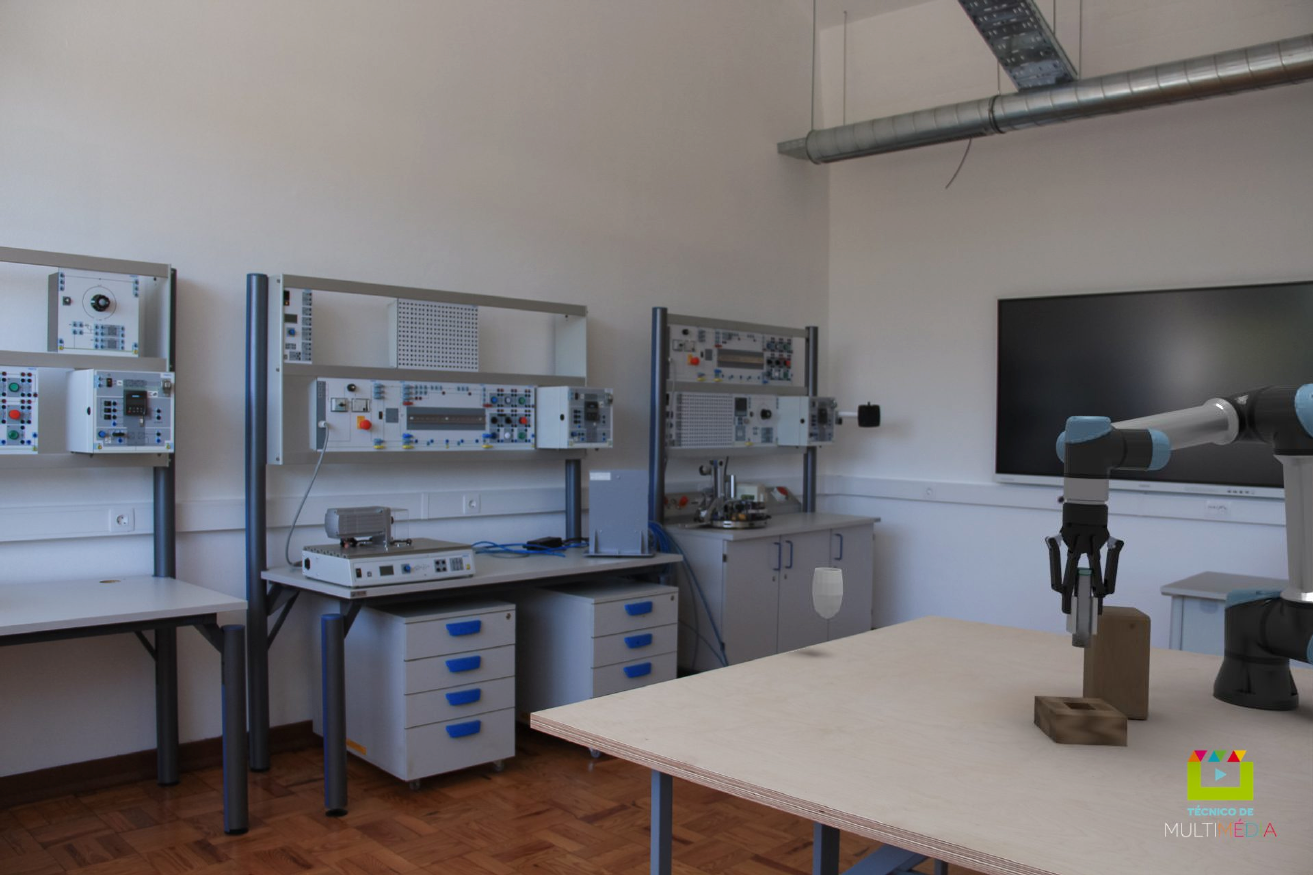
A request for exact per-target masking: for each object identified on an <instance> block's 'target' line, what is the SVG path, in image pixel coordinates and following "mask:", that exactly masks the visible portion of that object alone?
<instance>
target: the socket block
mask: <svg viewBox="0 0 1313 875" xmlns="http://www.w3.org/2000/svg"><path fill="white" fill-rule="evenodd" d="M1033 706H1034V707H1033V708H1034V713H1033V723H1034V724H1035V725H1036V726H1037V727H1038V728H1039V729H1040V730H1041V731H1043V732H1044V733H1045V735H1047V736H1048V737H1049V738H1050V739H1051V740H1052V741H1054V742H1055V743H1056V744H1072V745H1073V744H1074V745H1075V744H1076V745H1093V746H1094V745H1097V746H1100V745H1101V746H1119V747H1121V746H1122V747H1126V746H1127V747H1128V721H1129V718H1128V717H1127V716H1125V715H1124V714H1122V713H1121V712H1120V711H1118V710H1117V709H1115V708H1114V707H1112V706H1111V705H1109V704H1108V703H1107V702H1105V701H1104V700H1102V699H1101V698H1083V697H1075V696H1074V697H1073V696H1049V695H1046V696H1045V695H1034V705H1033Z"/></svg>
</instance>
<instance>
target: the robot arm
mask: <svg viewBox="0 0 1313 875" xmlns="http://www.w3.org/2000/svg"><path fill="white" fill-rule="evenodd" d="M1064 429H1065V430H1064V431H1063V432H1061V433H1060V434H1059V436H1058V438H1057V440H1056V443H1055V451H1056V454H1057V457H1058V459H1059V460H1060V461H1061V462H1062V463H1063V488H1062V489H1063V493H1062V496H1063V497H1062V498H1063V499H1064V500H1066V501H1064V502H1063V503H1062V519H1061V520H1062V522H1061V523H1062V524H1061V528H1060V529H1059V532H1058V533H1056V534H1054V535H1052V536H1046V537H1045V538H1044V542H1045V544H1046V546H1047V549H1048V557H1049V559H1048V560H1049V574H1050V586H1051V587H1050V588H1051V589H1052V590H1053V591H1054V592H1056V593H1059V594H1060V595H1061V612H1062V613H1063V614H1064V615H1066V618H1065V620H1066V621H1065V623H1066V624H1065V625H1066V626H1065V631H1066V632H1068V633H1069V634H1071V635H1072V634H1076V610H1077V597H1075V596H1073V593H1074V584H1075V579H1076V573H1077V568H1078V567H1079V561H1080V560H1081V557H1082V555H1084V554H1086V557H1087V560H1088V568H1091V569H1093V575H1092V600H1091V631H1090V633H1091V634H1096V635H1097V615H1102V613H1103V606H1104V599H1105V598H1106V597H1107V596H1109V595H1114V594H1115V592H1116V583H1117V577H1118V576H1117V575H1118V569H1119V560H1120V554H1121V551H1122V550H1123V547H1124V546H1125V542H1124V540H1122V539H1118V538H1115V537H1114V536H1111V533H1110V531H1109V529H1108V523H1109V521H1108V520H1109V506H1108V505H1107V504H1106V503H1105V502H1108V501H1109V498H1110V496H1109V495H1110V494H1109V493H1110V489H1109V488H1110V474H1111V472H1110V471H1111V470H1120V471H1121V470H1124V471H1125V470H1126V471H1144V472H1148V471H1157V470H1161V469H1162V468H1164V467H1165V466H1166V465H1167V463H1168V462H1169V460H1170V458H1171V456H1172V455H1171V451H1174V450H1178V449H1183V448H1189V447H1194V446H1199V445H1203V444H1208V443H1214V444H1216V445H1220V446H1224V445H1230V444H1239V443H1240V444H1241V443H1242V444H1243V443H1244V444H1261V445H1263V444H1264V445H1272V454H1273V457H1274V458H1275V459H1277V460H1278V461H1279V462H1280V463H1281V464H1282V467H1283V472H1282V473H1283V487H1284V488H1283V489H1284V491H1283V492H1284V493H1283V494H1284V507H1285V508H1284V511H1285V512H1284V513H1285V530H1286V531H1285V532H1286V549H1287V550H1286V552H1287V570H1288V586H1287V587H1286V588H1285V589H1282V588H1278V589H1275V588H1236V589H1235V588H1234V589H1231V590H1229V591H1228V592H1227V593H1226V596H1225V604H1224V605H1225V606H1224V608H1223V610H1224V623H1223V624H1224V625H1223V626H1224V627H1223V628H1224V633H1223V635H1224V636H1223V637H1224V638H1223V642H1224V643H1223V644H1224V646H1223V648H1224V649H1223V650H1224V651H1223V660H1222V662H1221V666H1220V667H1219V671H1218V673H1217V675H1216V677H1215V680H1214V683H1213V690H1212V691H1213V692H1212V694H1213V696H1214V697H1215V698H1217V699H1219V700H1221V701H1224V702H1228V703H1231V704H1235V705H1238V706H1241V707H1247V708H1248V707H1249V708H1256V709H1263V710H1276V711H1278V710H1279V711H1285V710H1286V711H1287V710H1294V709H1297V708H1299V706H1300V694H1299V692H1298V689H1297V685H1296V682H1295V679H1294V676H1293V673H1292V669H1291V660H1294V661H1297V662H1301V663H1304V664H1308V665H1312V666H1313V383H1307V384H1293V385H1292V384H1291V385H1289V384H1288V385H1267V386H1259V387H1254V388H1251V389H1246V390H1242V391H1238V392H1234V393H1230V394H1227V395H1223V396H1219V397H1214V398H1210V399H1208V400H1206V401H1205V402H1204V404H1202V405H1200V406H1194V407H1190V408H1183V409H1179V410H1173V411H1168V412H1163V413H1158V414H1152V415H1148V416H1144V417H1143V416H1142V417H1137V418H1132V419H1128V420H1121V421H1116V422H1112V421H1111V419H1110V417H1107V416H1096V415H1095V416H1093V415H1092V416H1090V415H1087V416H1086V415H1084V416H1083V415H1078V416H1077V415H1075V416H1074V415H1073V416H1070V417H1069V418H1068V419H1067V420H1066V423H1065V428H1064ZM1062 542H1063V543H1064V544H1065V545H1066V547H1067V552H1066V563H1065V568H1064V569H1065V570H1064V572H1063V573H1062V558H1061V555H1062V554H1061V548H1060V547H1061V546H1062ZM1106 543H1107V544H1106ZM1105 544H1106V547H1107V552H1106V560H1105V568H1104V576H1103V571H1102V563H1101V558H1102V555H1101V549H1102V548H1103V547H1104V546H1105Z"/></svg>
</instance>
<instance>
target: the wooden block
mask: <svg viewBox="0 0 1313 875" xmlns="http://www.w3.org/2000/svg"><path fill="white" fill-rule="evenodd" d="M1151 623H1152V620H1151V618H1150V616H1149V615H1148V614H1146V613H1145V612H1143V611H1142V610H1140V609H1138V608H1136V607H1133V606H1131V607H1130V606H1118V605H1117V606H1116V605H1115V606H1114V605H1103V613H1102V615H1097V635H1096V634H1091V633H1090V648H1083V673H1082V675H1083V676H1082V677H1083V678H1082V679H1083V680H1082V681H1083V682H1082V684H1083V685H1082V698H1101V699H1102V700H1104V701H1105V702H1107V703H1108V704H1109V705H1111V706H1112V707H1114V708H1115V709H1117V710H1118V711H1120V712H1121V713H1122V714H1124V715H1125V716H1127V717H1128V720H1129V719H1131V720H1132V719H1133V720H1145V719H1147V718H1148V716H1149V699H1150V694H1149V692H1150V665H1151V664H1150V660H1151V658H1150V657H1151V628H1152V627H1151V626H1152V624H1151Z"/></svg>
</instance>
